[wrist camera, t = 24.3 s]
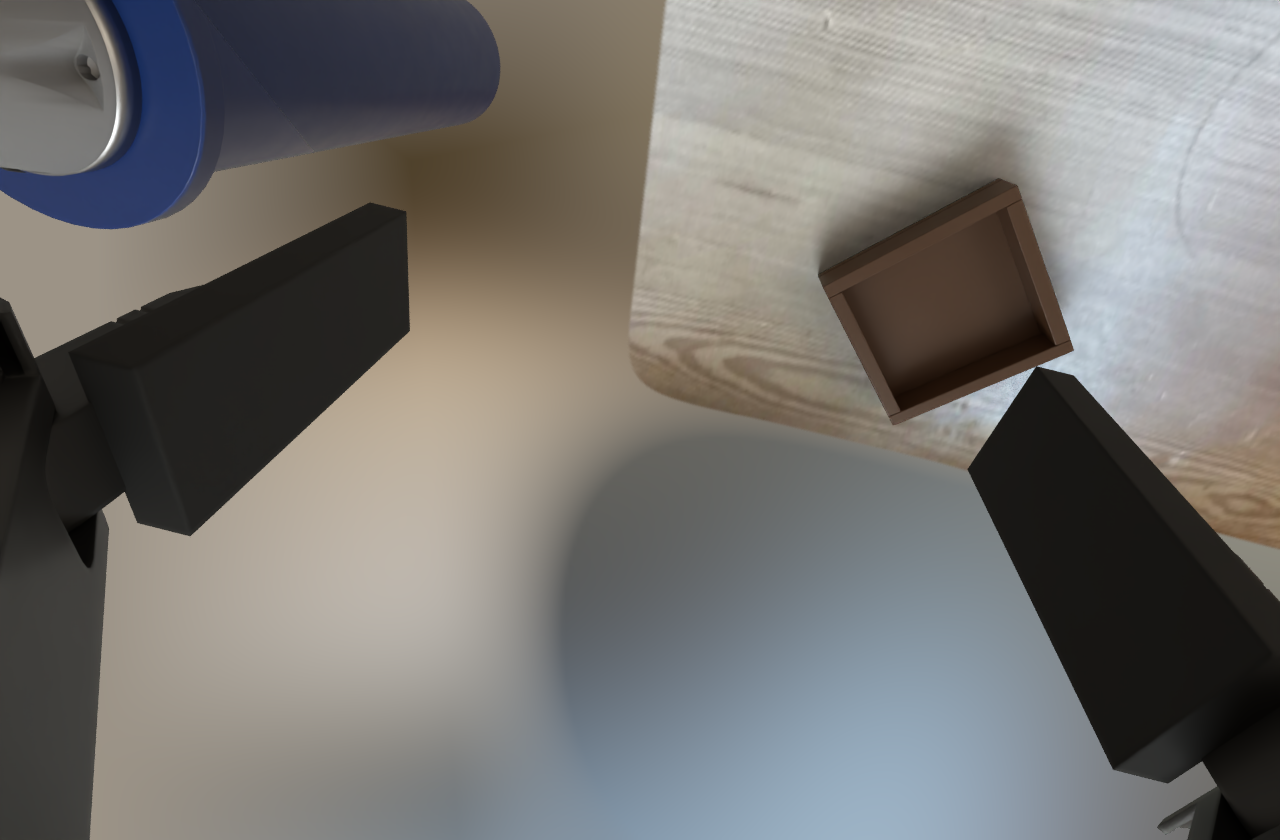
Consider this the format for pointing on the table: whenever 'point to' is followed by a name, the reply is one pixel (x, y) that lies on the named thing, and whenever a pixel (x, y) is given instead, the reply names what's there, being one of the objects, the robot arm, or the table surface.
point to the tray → (950, 303)
